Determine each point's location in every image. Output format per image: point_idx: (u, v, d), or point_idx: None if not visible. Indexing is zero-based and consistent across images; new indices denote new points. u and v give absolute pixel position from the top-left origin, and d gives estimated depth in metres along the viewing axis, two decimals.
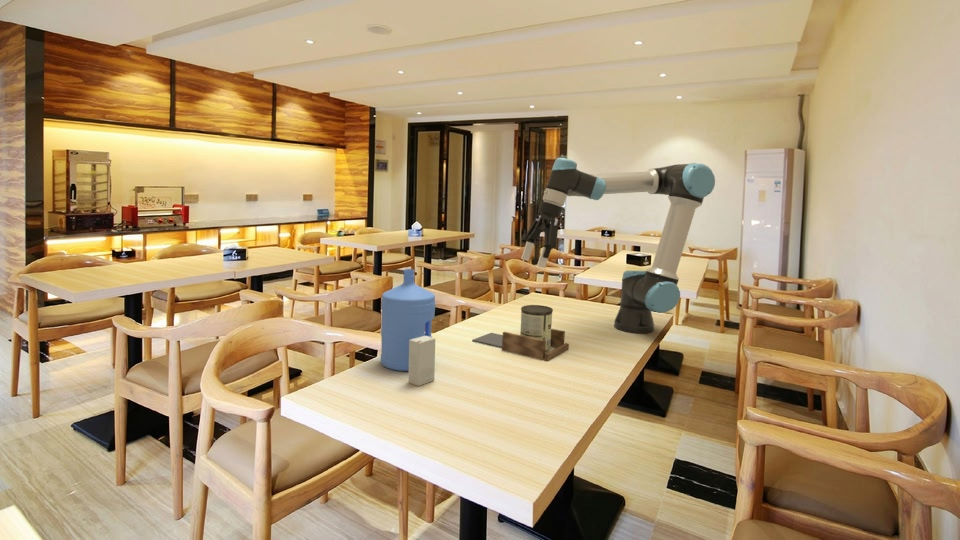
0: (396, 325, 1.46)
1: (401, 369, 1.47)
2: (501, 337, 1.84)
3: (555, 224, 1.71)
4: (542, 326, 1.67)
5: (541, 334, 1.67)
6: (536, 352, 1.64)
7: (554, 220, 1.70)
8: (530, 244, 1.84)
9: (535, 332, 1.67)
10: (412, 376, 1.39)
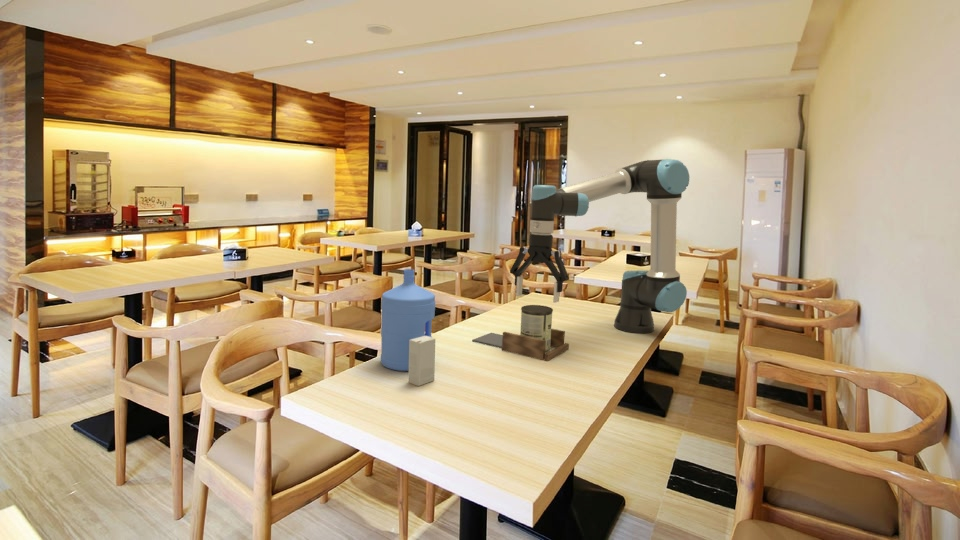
0: (396, 325, 1.46)
1: (401, 369, 1.47)
2: (501, 337, 1.84)
3: (559, 256, 1.65)
4: (542, 326, 1.67)
5: (541, 334, 1.67)
6: (536, 352, 1.64)
7: (558, 252, 1.64)
8: (521, 278, 1.73)
9: (535, 332, 1.67)
10: (412, 376, 1.39)
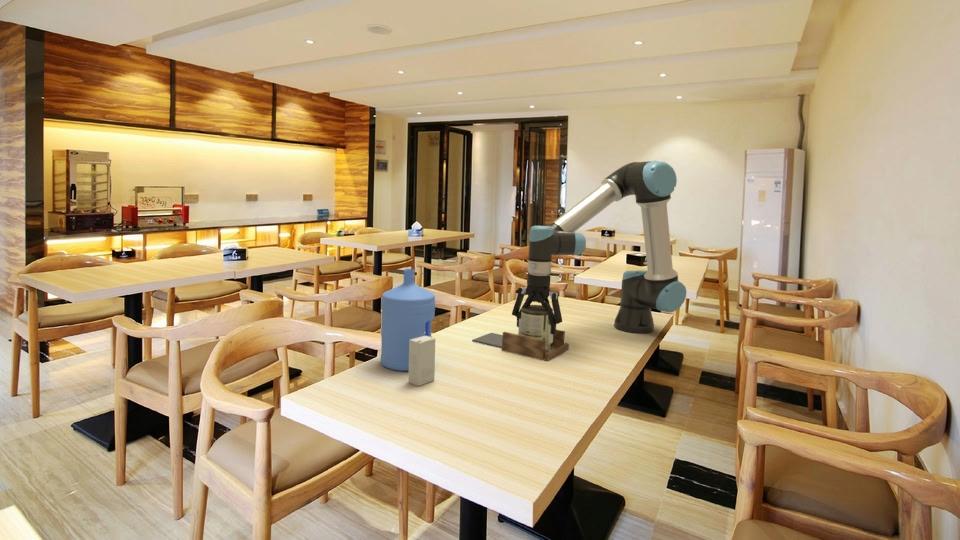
0: (396, 325, 1.46)
1: (401, 369, 1.47)
2: (501, 337, 1.84)
3: (556, 298, 1.67)
4: (542, 326, 1.67)
5: (541, 334, 1.67)
6: (536, 352, 1.64)
7: (556, 295, 1.66)
8: None
9: (535, 332, 1.67)
10: (412, 376, 1.39)
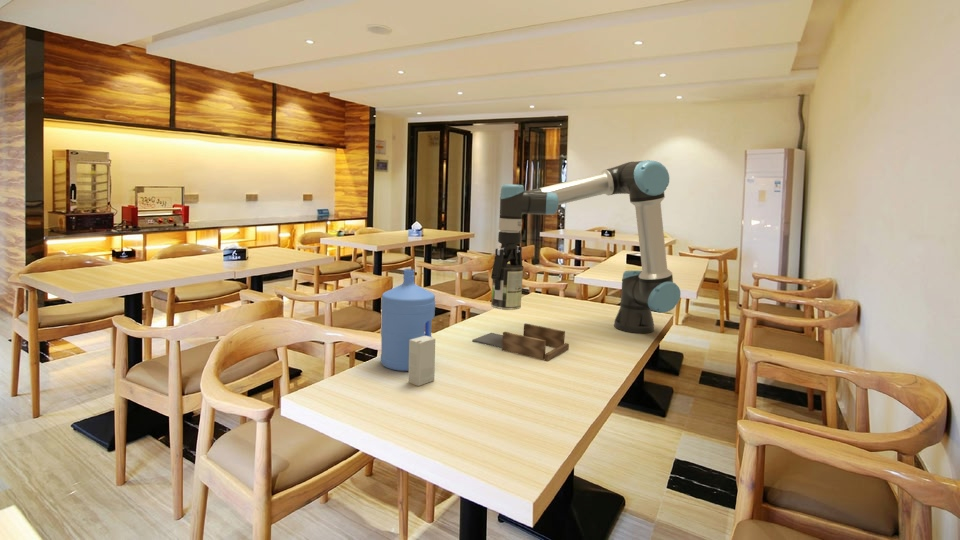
0: (396, 325, 1.46)
1: (401, 369, 1.47)
2: (501, 337, 1.84)
3: None
4: None
5: None
6: (536, 352, 1.64)
7: None
8: None
9: (521, 286, 1.76)
10: (412, 376, 1.39)
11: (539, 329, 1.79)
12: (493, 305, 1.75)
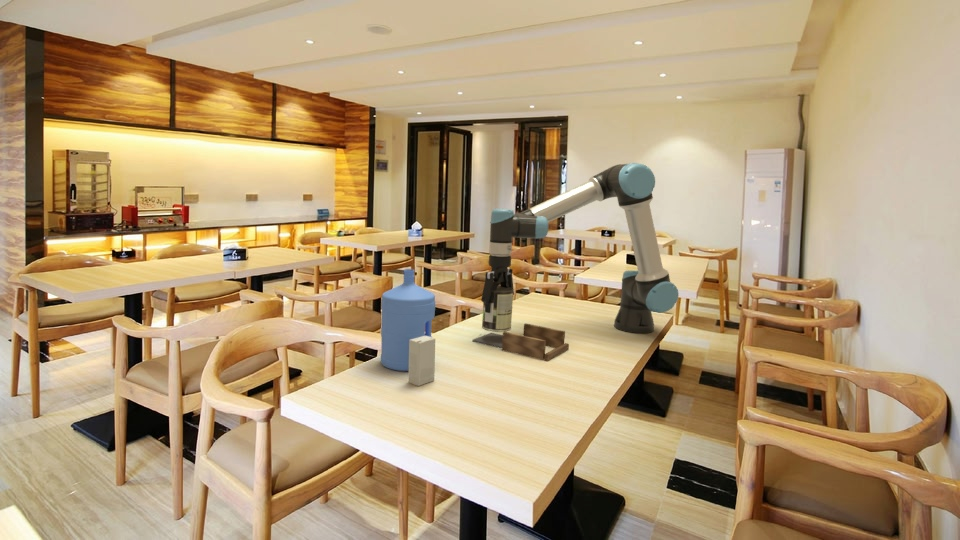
0: (396, 325, 1.46)
1: (401, 369, 1.47)
2: (501, 337, 1.84)
3: None
4: None
5: None
6: (536, 352, 1.64)
7: None
8: None
9: None
10: (412, 376, 1.39)
11: (539, 329, 1.79)
12: (484, 327, 1.78)
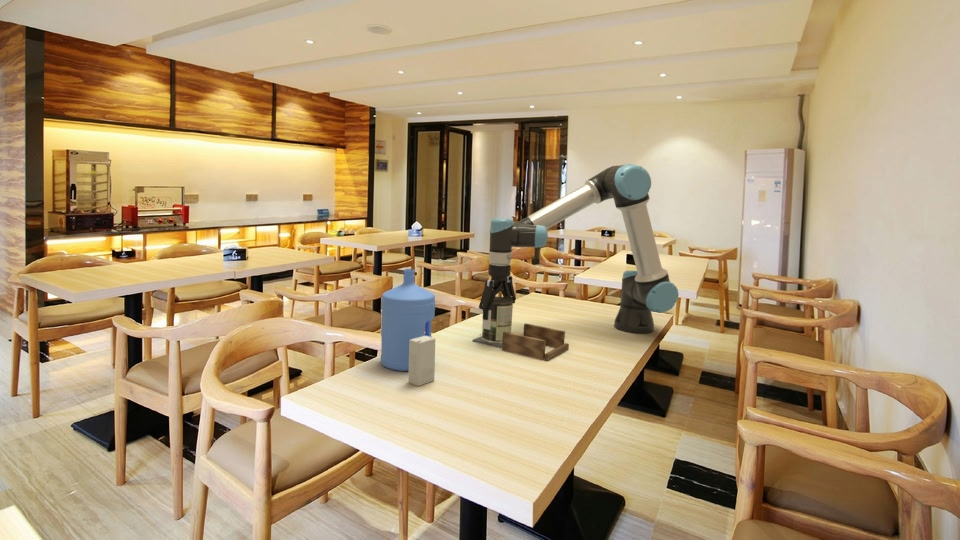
0: (396, 325, 1.46)
1: (401, 369, 1.47)
2: None
3: None
4: None
5: None
6: (536, 352, 1.64)
7: None
8: None
9: (511, 320, 1.79)
10: (412, 376, 1.39)
11: (539, 329, 1.79)
12: (484, 338, 1.79)
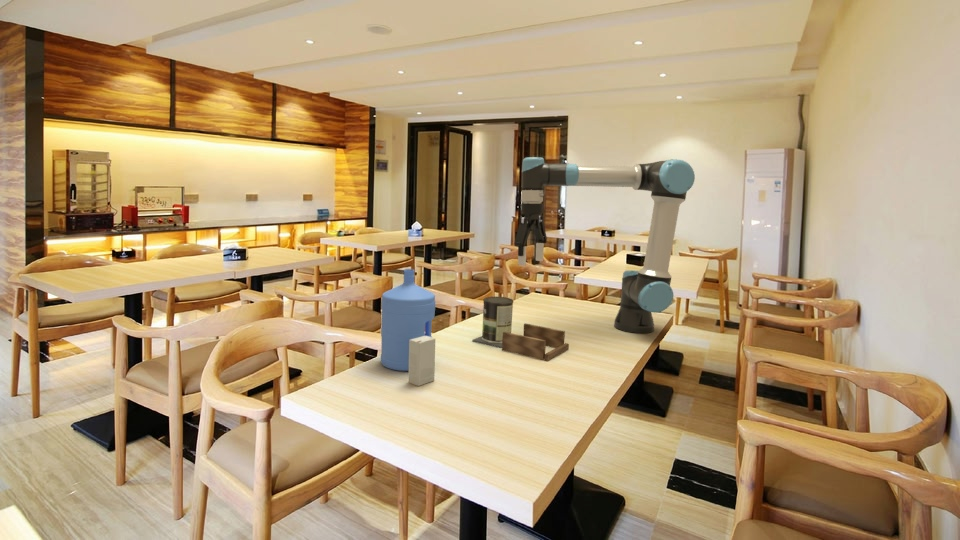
0: (396, 325, 1.46)
1: (401, 369, 1.47)
2: None
3: None
4: None
5: None
6: (536, 352, 1.64)
7: None
8: None
9: (511, 320, 1.79)
10: (412, 376, 1.39)
11: (539, 329, 1.79)
12: (484, 338, 1.79)
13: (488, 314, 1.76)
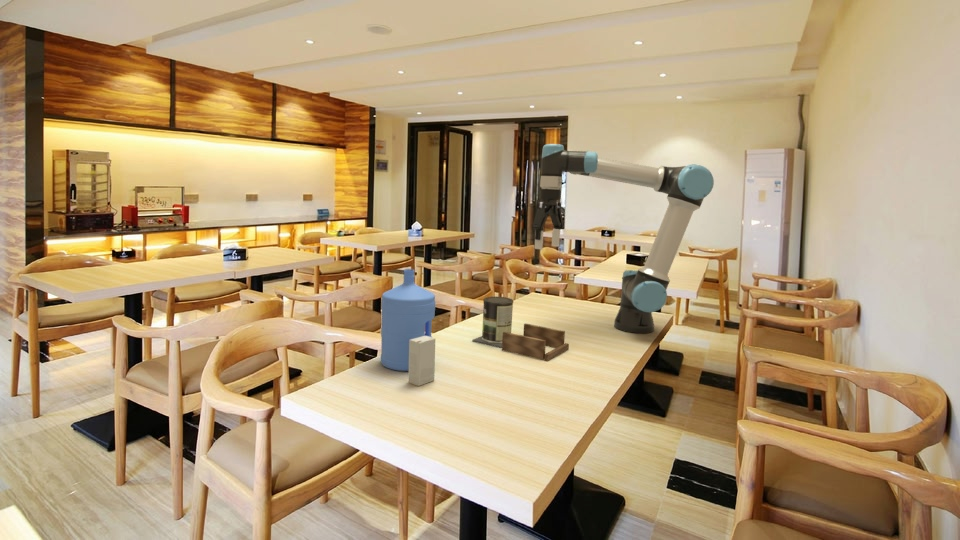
0: (396, 325, 1.46)
1: (401, 369, 1.47)
2: None
3: None
4: None
5: None
6: (536, 352, 1.64)
7: None
8: None
9: (511, 320, 1.79)
10: (412, 376, 1.39)
11: (539, 329, 1.79)
12: (484, 338, 1.79)
13: (488, 314, 1.76)
